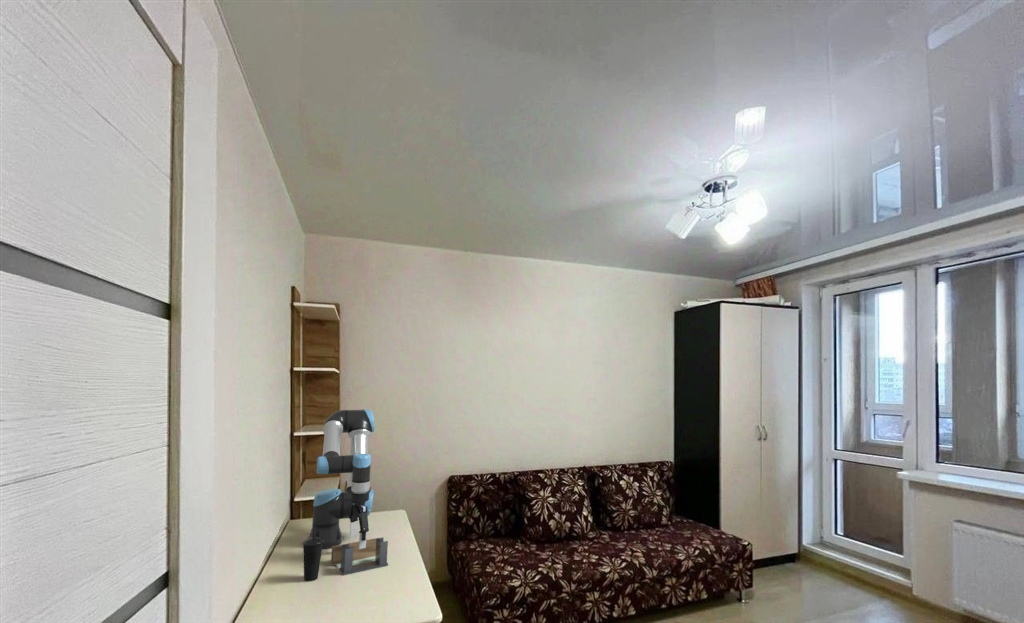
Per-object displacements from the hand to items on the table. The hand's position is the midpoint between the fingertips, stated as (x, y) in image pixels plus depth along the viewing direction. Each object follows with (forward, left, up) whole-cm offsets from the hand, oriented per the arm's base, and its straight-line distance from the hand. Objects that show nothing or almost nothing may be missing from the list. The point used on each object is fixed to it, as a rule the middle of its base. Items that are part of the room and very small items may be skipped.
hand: (357, 542), depth 202 cm
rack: (+11, 0, -7) cm, 12 cm away
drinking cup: (+10, -20, -7) cm, 24 cm away
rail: (0, 0, -6) cm, 6 cm away
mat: (+1, 0, -7) cm, 7 cm away
